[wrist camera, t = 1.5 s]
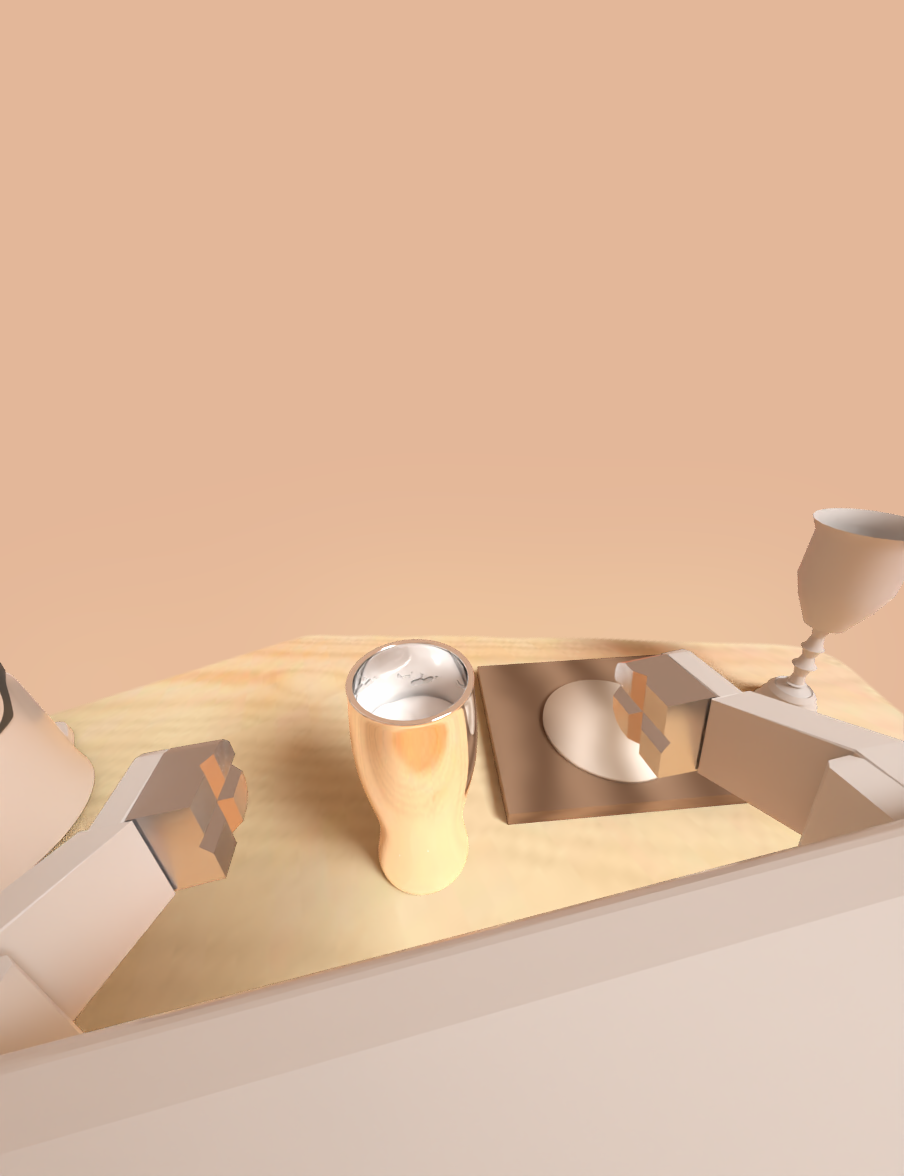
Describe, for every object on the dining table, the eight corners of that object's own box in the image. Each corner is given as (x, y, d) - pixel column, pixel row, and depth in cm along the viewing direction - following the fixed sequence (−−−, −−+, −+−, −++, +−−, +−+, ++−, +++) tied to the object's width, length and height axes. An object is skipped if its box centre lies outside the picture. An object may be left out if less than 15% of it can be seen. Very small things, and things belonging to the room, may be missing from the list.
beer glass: (364, 817, 31) (334, 651, 24) (454, 788, 33) (452, 626, 26) (383, 922, 25) (350, 746, 18) (491, 880, 27) (501, 705, 20)
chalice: (766, 733, 37) (858, 541, 29) (725, 680, 43) (791, 508, 35) (853, 734, 37) (973, 541, 28) (799, 681, 43) (885, 508, 34)
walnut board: (508, 824, 31) (509, 810, 30) (477, 675, 44) (477, 663, 44) (774, 800, 32) (782, 786, 31) (663, 663, 46) (667, 651, 45)
